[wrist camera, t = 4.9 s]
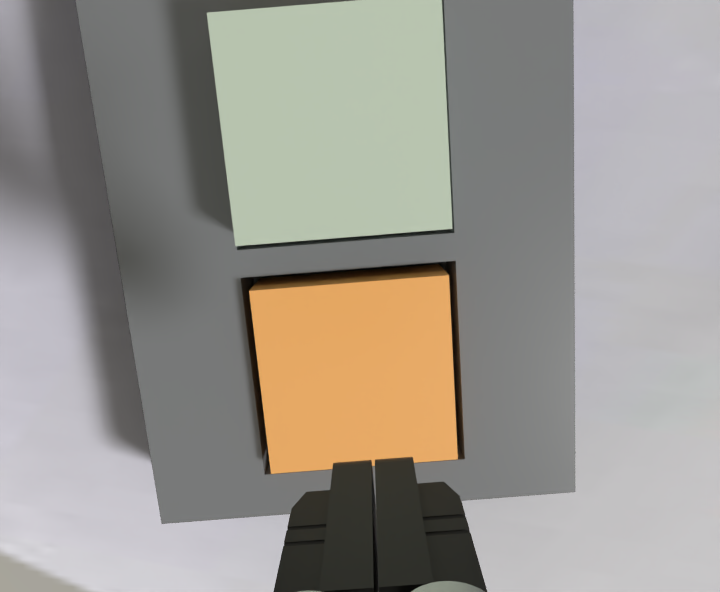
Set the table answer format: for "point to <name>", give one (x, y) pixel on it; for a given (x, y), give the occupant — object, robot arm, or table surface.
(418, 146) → the sage key
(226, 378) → the keypad
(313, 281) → the orange key
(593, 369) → the table surface
